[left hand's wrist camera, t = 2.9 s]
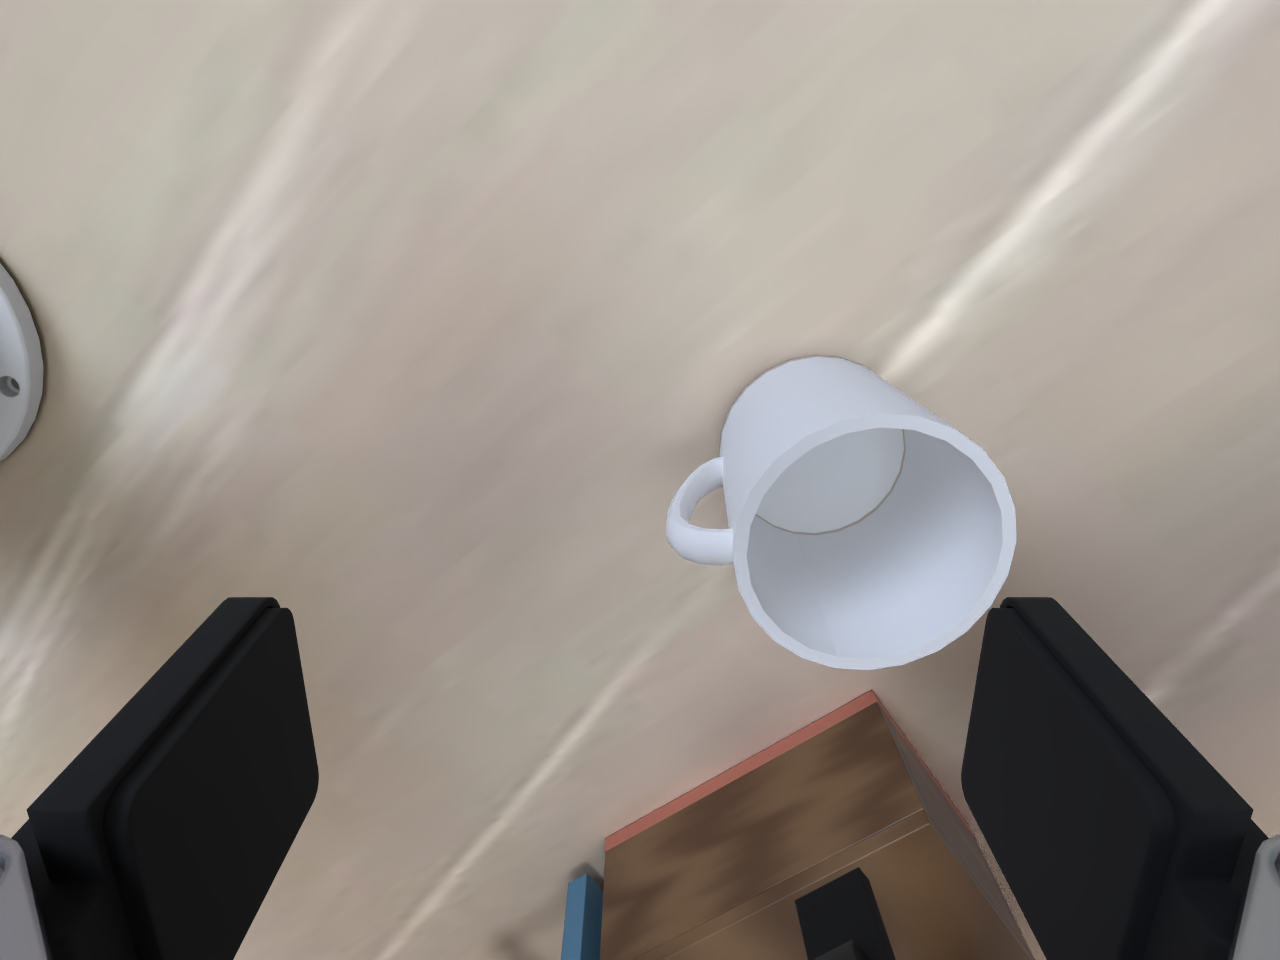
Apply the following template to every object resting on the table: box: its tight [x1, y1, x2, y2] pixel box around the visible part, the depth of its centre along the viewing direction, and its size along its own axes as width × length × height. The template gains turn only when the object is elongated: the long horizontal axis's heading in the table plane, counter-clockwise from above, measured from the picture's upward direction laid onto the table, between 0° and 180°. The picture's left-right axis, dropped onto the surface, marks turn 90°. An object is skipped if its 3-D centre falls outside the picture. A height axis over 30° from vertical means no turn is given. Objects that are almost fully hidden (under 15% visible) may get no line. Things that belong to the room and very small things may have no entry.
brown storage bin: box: [600, 690, 1035, 960], centre depth 40 cm, size 16×10×9 cm, turn 125°
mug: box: [666, 355, 1016, 670], centre depth 32 cm, size 11×9×10 cm
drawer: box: [561, 874, 603, 960], centre depth 41 cm, size 21×9×7 cm, turn 125°
